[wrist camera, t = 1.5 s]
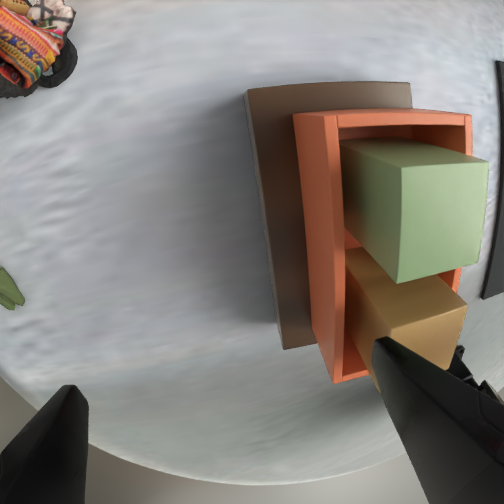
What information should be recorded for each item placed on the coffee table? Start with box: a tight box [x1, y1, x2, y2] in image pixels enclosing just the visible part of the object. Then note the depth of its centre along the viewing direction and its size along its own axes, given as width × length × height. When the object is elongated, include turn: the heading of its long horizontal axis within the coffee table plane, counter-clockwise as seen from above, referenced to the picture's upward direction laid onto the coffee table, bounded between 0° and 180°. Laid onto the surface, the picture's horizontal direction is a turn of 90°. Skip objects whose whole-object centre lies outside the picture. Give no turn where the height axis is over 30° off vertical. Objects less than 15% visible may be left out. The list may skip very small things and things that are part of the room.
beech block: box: [344, 247, 468, 393], centre depth 15 cm, size 4×4×7 cm
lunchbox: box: [293, 108, 472, 384], centre depth 15 cm, size 13×7×5 cm, turn 8°
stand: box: [243, 81, 412, 350], centre depth 19 cm, size 16×9×3 cm, turn 8°
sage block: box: [339, 136, 489, 284], centre depth 12 cm, size 4×4×7 cm
